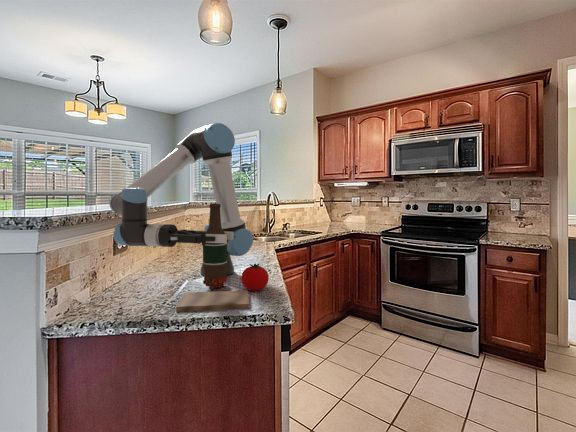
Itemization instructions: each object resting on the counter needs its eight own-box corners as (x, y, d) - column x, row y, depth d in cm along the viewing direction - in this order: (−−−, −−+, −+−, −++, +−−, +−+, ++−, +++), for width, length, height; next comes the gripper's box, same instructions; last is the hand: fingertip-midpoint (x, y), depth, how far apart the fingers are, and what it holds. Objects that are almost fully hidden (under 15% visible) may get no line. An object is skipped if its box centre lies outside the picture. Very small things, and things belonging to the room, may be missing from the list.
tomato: (235, 291, 112) (235, 265, 112) (250, 284, 122) (250, 260, 121) (260, 296, 108) (260, 268, 108) (273, 288, 118) (273, 262, 117)
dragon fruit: (208, 297, 111) (216, 292, 123) (227, 283, 111) (234, 279, 123) (195, 277, 111) (205, 274, 123) (214, 264, 112) (222, 262, 124)
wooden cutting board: (176, 311, 92) (176, 306, 92) (184, 296, 106) (184, 292, 106) (248, 308, 96) (248, 303, 96) (247, 294, 109) (247, 290, 109)
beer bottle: (226, 278, 97) (226, 203, 96) (201, 279, 96) (201, 203, 94) (227, 272, 105) (227, 203, 103) (204, 273, 103) (204, 203, 102)
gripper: (176, 242, 111) (237, 244, 109) (146, 251, 91) (220, 254, 89) (176, 221, 111) (237, 223, 109) (145, 227, 91) (220, 228, 89)
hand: (229, 237), depth 99 cm, fingers closed on beer bottle, 7 cm apart
